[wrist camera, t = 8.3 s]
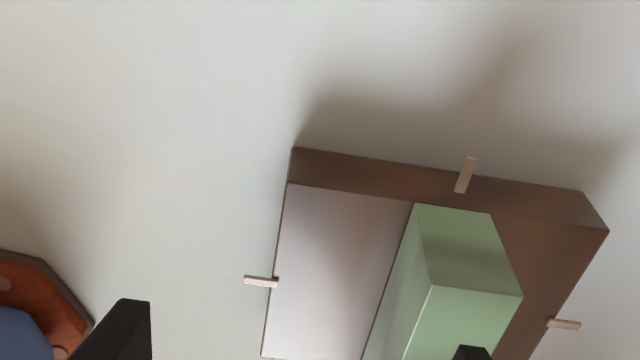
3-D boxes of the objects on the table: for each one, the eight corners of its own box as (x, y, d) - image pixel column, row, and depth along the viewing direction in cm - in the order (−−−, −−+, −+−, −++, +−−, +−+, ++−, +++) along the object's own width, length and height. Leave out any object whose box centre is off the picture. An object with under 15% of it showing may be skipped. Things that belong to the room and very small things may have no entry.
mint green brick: (414, 201, 17) (433, 289, 14) (490, 213, 18) (527, 303, 14) (357, 371, 23) (360, 465, 19) (415, 379, 23) (429, 473, 20)
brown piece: (635, 151, 19) (675, 191, 17) (501, 373, 27) (516, 420, 25) (269, 91, 18) (259, 125, 16) (241, 339, 26) (232, 384, 24)
